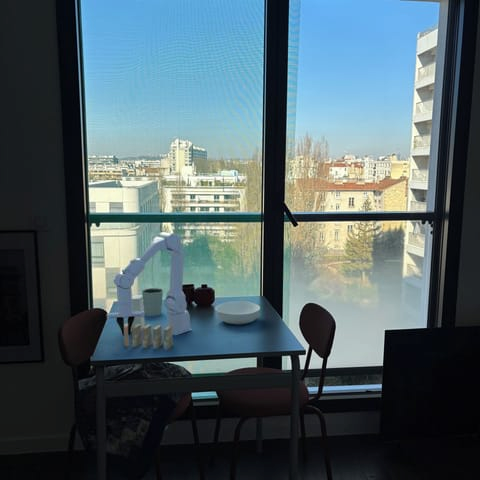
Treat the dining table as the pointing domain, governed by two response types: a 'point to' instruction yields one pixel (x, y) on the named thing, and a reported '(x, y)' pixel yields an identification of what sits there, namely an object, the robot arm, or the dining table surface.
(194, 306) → the dining table surface
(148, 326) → the domino
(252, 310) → the serving bowl
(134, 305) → the skincare box
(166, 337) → the domino
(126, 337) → the end domino
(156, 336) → the domino
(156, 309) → the grey green plant pot
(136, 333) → the domino
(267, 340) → the dining table surface
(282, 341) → the dining table surface
